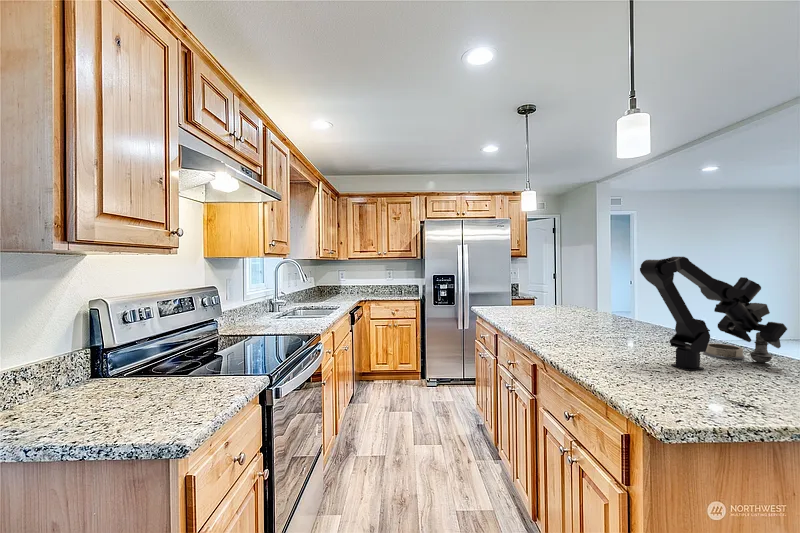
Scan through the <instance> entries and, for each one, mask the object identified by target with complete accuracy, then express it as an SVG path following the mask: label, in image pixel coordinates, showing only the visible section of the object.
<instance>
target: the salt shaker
mask: <svg viewBox="0 0 800 533" xmlns="http://www.w3.org/2000/svg"><path fill="white" fill-rule="evenodd" d="M753 343H754V344H755V346H754V350H753V351H750V352H749V355H750V358H751V359H752V360H754V361H751V362H749V364H751V365H753V366H756V367H757V366H758V367H764V368H765V367H766V368H770V367H772V365H771V364H770V363H768V362H771V360H772V357H774V356H773V354H770V353H769V351H768V345H769V343H767V342H765V341H764V339H763V338H761V336H760V331H757V332H756V333H755V341H753Z"/></svg>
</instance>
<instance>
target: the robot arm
mask: <svg viewBox="0 0 800 533" xmlns="http://www.w3.org/2000/svg"><path fill="white" fill-rule="evenodd" d="M639 272H640V275H642V277H644V279H645V280H646V281H647V282H648V283H650V284H651V285H653V286H654V287H655V288H656V289H657V292H658V293H659V295H660V297H661V298H662V300H663V301H664V304H665V305H666V307H667V308H668V311H669V312H670V314H671V316H672V318H673V319H674V321H675V327H674V328H675V333H674V335H673V336H671V338H670V339H669V343H670V347H672V348H675V363H670V366H672V367H676V368H679V369H682V370H685V371H687V372H688V371H690V372H692V371H701V370H703V371H704V370H705V367H703V366H701V353H703V352H706V349H707V346H708V344H710V339H711V334H710V332H711V330H710V329H709V328H708V326H707V323H706V322H705V321H704V320H702V319H697V318H694V316H693V315H692V313H691V311H690V310H689V308H688V306H687V304H686V302H685V300H684V299H683V297H682V296H681V293H680V292H679V290H678V289H677V286H676V284H675V282H674V277H675V273H679V274H680V275H682V276H683V277H685V278H686V279H688V280H689V281H690V282H691V283H693V284H694V285H695V286H696V287H698V288H699V289H700V293H701V294H702V295H703V296H704V297H705V298H706V299H707V300H709V301H716V302H719V303H716V304H715V307H714V312H715V313H721V314H725V315H723V317H722V319H721V320H720V321H719V322H718V323H717V328H718V330H720V332H724V333H725V334H729V335H730V336H733V337H736V338H738V339H741V340H742V341H745V342H748V343H751V342H752V339H751V337H750V336H749V333H752V331H755V332H760V336H761V338H763V339H764V341H765V342H767V343H768V345H771V346H773V347H774V348H776V349H780V348H781V346H782V345H781V340H780V339H781V337H782V336H783V335H785V333H786V332H787V331H788V327H786V325H785V324H784V323H782V322H781V323H780V322H775V321H768V322H767V323H766V324H764V323H763V324H762V321H763V317H765V316H767V315H769V314H770V313H771V312H770V310H769V306H768V304H766V303H761V302H751V301H752V300H753V299H754V298H755V297H756V296H757V295H758V293H759V292H760V291H762V286H761V285H760V284H759V283H757V282H755V281H754V280H751V279H749V278H748V277H740V278H738V280H737V281H736V283H735V284H733V285H732V284H729V283H728V282H725V281H723V280H720V279H716V278H714V277H712V276H711V275H710V274H708V273H707V272H706V271H704V270H703V269H702V268H700V267H699V266H697V265H696V264H695V263H693V262H692V261H691V260H690V259H689V258H688V257H686V256H671V257H667V258H661V259H645V260H644V261H643V262H641V264H640V268H639Z"/></svg>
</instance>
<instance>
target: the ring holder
mask: <svg viewBox="0 0 800 533" xmlns="http://www.w3.org/2000/svg"><path fill="white" fill-rule="evenodd" d="M702 354H703V355H706V356H707V355H708V357H711V358H715V357H716V359H721V358H723V359H722V360H729V359H732V360H731V361H741V360H742V359H743V360H744V359H745V355H744V348H742V347H739V346H737V345H736V346H735V345H732V344H725V343H714V342H713V343H712V342H711V343H708V346H707V349H706V352H702Z"/></svg>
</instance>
